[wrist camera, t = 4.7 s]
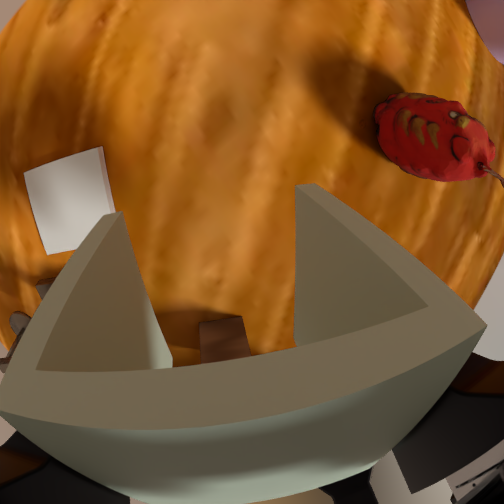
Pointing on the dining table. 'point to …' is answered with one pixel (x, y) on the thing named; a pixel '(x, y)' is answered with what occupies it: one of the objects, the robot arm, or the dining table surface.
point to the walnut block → (223, 340)
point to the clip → (489, 24)
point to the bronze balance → (23, 322)
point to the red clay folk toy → (433, 138)
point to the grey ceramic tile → (69, 198)
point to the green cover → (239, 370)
